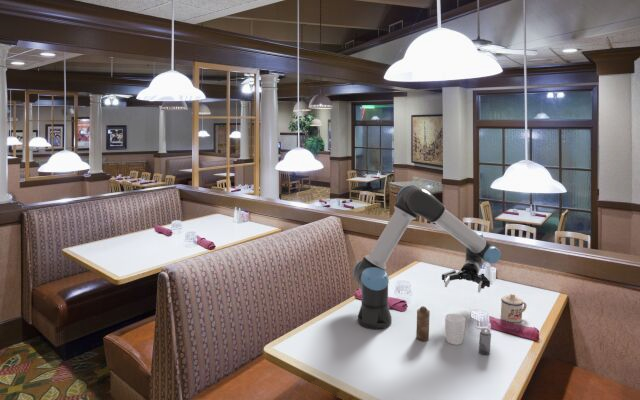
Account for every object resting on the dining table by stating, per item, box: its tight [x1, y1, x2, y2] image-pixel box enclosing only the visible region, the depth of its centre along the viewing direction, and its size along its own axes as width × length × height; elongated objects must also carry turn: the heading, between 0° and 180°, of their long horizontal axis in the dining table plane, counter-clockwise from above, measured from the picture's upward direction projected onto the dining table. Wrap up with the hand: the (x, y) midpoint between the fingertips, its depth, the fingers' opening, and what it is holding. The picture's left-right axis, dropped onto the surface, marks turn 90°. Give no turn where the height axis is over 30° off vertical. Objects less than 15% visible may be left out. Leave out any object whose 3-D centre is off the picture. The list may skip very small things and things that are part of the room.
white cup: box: [444, 313, 467, 346], centre depth 169 cm, size 8×8×10 cm
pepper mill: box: [415, 305, 431, 342], centre depth 171 cm, size 5×5×14 cm
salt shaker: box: [478, 328, 492, 356], centre depth 160 cm, size 4×4×9 cm
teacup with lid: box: [500, 293, 528, 324], centre depth 187 cm, size 12×9×12 cm
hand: (461, 286), depth 177 cm, fingers open, 13 cm apart
